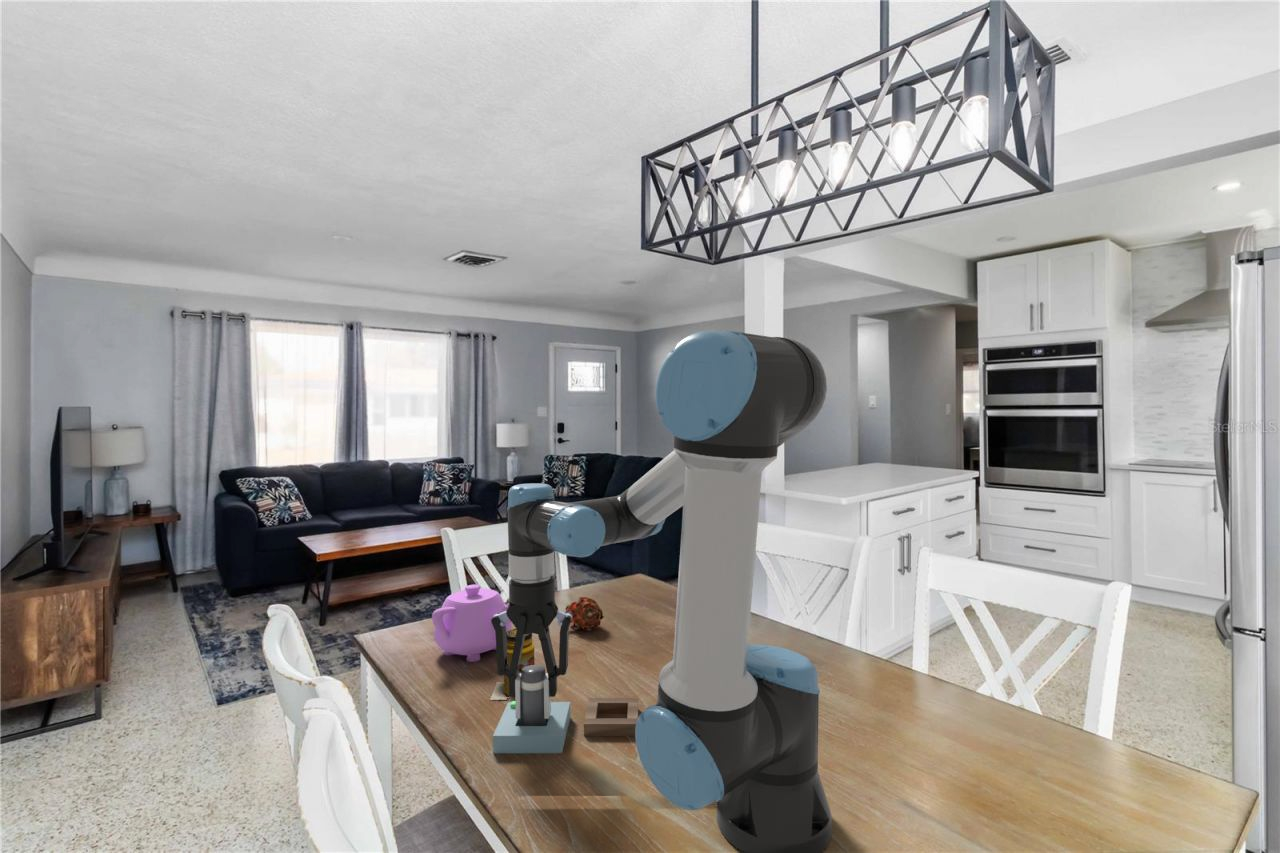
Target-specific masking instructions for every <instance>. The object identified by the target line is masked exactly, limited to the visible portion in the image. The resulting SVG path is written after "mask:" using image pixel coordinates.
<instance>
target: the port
mask: <svg viewBox="0 0 1280 853" xmlns="http://www.w3.org/2000/svg"><path fill="white" fill-rule="evenodd" d="M570 721H571V701H551V713H550V716H549V719H546V726H522V715H521V718H520V719H516V707H515V700H512V701H508V702H507V703H506V706H505V708H504V711H503V713H502V715H501V717H500V719H499V721H498V723H497V726H496V728H495V731H494V732H493V735H492V752H493V753H492V754H563V750H564V747H565V742H566V738H567V735H568V734H567V733H568V729H569V725H570Z"/></svg>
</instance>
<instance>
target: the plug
mask: <svg viewBox="0 0 1280 853" xmlns="http://www.w3.org/2000/svg"><path fill="white" fill-rule="evenodd" d="M545 675H546V666H545V667H544V665H541V664H534V665H529V666H526V667H524V668H522V670H521V701H522V726H546V719H544V678H545Z"/></svg>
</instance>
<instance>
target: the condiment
mask: <svg viewBox="0 0 1280 853" xmlns="http://www.w3.org/2000/svg"><path fill="white" fill-rule="evenodd" d="M516 632H517V629H516V627H515V628H511V630H509V631H508V632H506V638H507V658H508V665H510V664H511V659H512V654H513V649H514V644H515V637H516ZM529 665H535V645H534V642H533V633H529V634H526V635H525V640H524V645H523V650H522V655H521V660H520V665H519V670H518V673H521V670H522V668H524V667H526V666H529ZM495 684H496V685H495V686H494V690H493V691H492V694H491V697H490V699H489V700H490V701H499V700H502V701H505V700H509V699H510V698H511V697H510V695H509V678H508V677H507V676H505V675H503V681H496V683H495ZM501 694H502V695H501ZM503 695H505V696H506V697H509V698H508V699H507V698H506V697H504V696H503Z"/></svg>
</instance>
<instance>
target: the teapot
mask: <svg viewBox="0 0 1280 853" xmlns="http://www.w3.org/2000/svg"><path fill="white" fill-rule="evenodd" d="M508 606H509V603H507V604H506V603H505V601H504V599H503V597H502V596H501V594H500V593H499V591H497V590H495V589H494V590H493V589H490V588H485V587H484V588H483V587H481V585H480V584H469V585H466V586H465V587H464V589H463V590H459V591H457V592H453V593H451V594H450V595H447V597H446V598H445V600H444V602H443V604H442V605H441V607H440V608H437V609H435V610H434V611H433V612H432V614H431V620H432V624H433V625H434V629H433V640H434V643H435V644H437V646H438V647H439V648H440V649H441V650H442V651H444V652H443V653H442V654H443V655H444V656H453V655H459V656H466V662H469V663H475V662H478V661H480V660H481V659H482V658H481V654H482V653H485V652H489V651H496V634H495V629H494V627H493V625H492V622H491V619H492V618H493V616H494V615H495V614H496V613H497V612H499V613H502V612H505V611H507V608H508ZM511 629H513V628H512V622H511V621H510V619H509V618H507V624H506V632H508V631H509V630H511Z"/></svg>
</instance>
